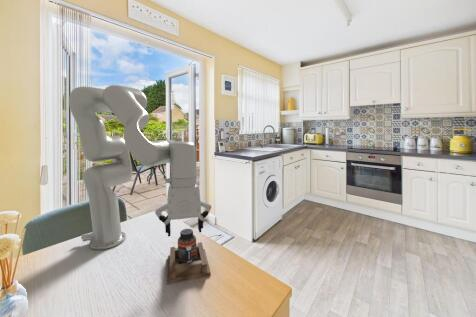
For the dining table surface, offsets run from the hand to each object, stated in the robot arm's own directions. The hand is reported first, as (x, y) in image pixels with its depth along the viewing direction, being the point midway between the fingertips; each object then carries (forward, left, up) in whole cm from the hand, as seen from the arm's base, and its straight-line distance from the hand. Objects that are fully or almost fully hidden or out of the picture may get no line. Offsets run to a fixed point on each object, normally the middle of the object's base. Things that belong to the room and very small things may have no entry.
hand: (184, 232), depth 68 cm
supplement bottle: (+1, 0, -11) cm, 11 cm away
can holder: (+1, 0, -12) cm, 12 cm away
